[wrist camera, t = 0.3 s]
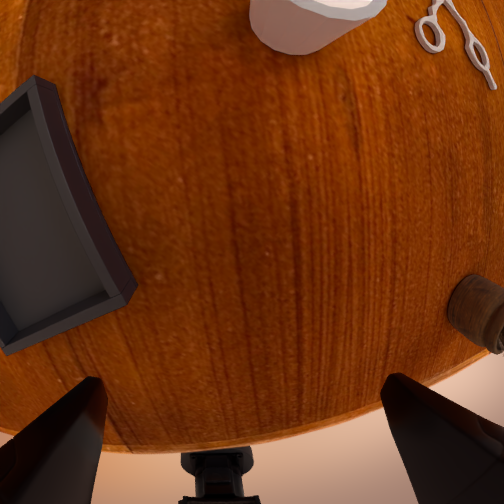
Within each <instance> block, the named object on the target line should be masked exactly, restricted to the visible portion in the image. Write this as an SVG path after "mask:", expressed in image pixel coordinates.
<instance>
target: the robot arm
mask: <svg viewBox="0 0 504 504" xmlns="http://www.w3.org/2000/svg"><path fill="white" fill-rule="evenodd" d="M380 397H381V400H382V404H383V407H384V410H385V414H386V417H387V420H388V424H389V427H390V430H391V433H392V436H393V438H394V441H395V443H396V446H397V448H398V451H399V453H400V456H401V458H402V460H403V463H404V466H405V468H406V470H407V474H408V476H409V479H410V481H411V484H412V487H413V490H414V492H415V495H416V497H417V501H418V503H419V504H504V427H502V426H500V425H498V424H495V423H493V422H491V421H489V420H487V419H485V418H483V417H481V416H479V415H477V414H475V413H473V412H472V411H470V410H468V409H466V408H464V407H462V406H460V405H458V404H457V403H454V402H453V401H451V400H449V399H447V398H445V397H444V396H442V395H440V394H438V393H436V392H435V391H433V390H431V389H429V388H427V387H425V386H424V385H422V384H420V383H418V382H416V381H415V380H413V379H411V378H409V377H408V376H406V375H404V374H402V373H399V372H398V373H393V374H390V375H389V376H388V377H387V379H386V381H385V383H384V385H383V387H382V389H381V392H380ZM107 405H108V397H107V394H106V390H105V387H104V384H103V381H102V379H101V378H98V377H92V376H88V377H86V378H85V379H84V380H83V381H81V382H80V383H79V384H78V385H77V386H75V387H74V388H73V389H72V390H70V391H69V392H68V393H67V394H65V395H64V396H63V397H62V398H61V399H59V400H58V401H57V402H56V403H54V404H53V405H52V406H51V407H50V408H48V409H47V410H46V411H45V412H43V413H42V414H41V415H40V416H39V417H37V418H36V419H35V420H34V421H32V422H31V423H30V424H29V425H28V426H26V427H25V428H24V429H23V430H22V431H20V432H19V433H18V434H17V435H15V436H14V437H13V439H11V440H9V441H8V442H7V443H6V444H4V445H3V446H2V447H1V448H0V504H91V498H92V492H93V487H94V482H95V476H96V472H97V467H98V463H99V458H100V454H101V449H102V444H103V436H104V427H105V419H106V412H107ZM243 459H244V456H243V453H241V452H237V453H191V454H190V462H191V466H192V470H193V474H194V477H195V488H196V490H195V491H196V497H188V496H183V500H180V501H178V504H261V503H260V499H259V496H258V495H256V496H250V497H244V491H243V484H242V476H243Z"/></svg>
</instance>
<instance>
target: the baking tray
mask: <svg viewBox="0 0 504 504" xmlns="http://www.w3.org/2000/svg"><path fill="white" fill-rule="evenodd" d="M137 286H138V284H137V282H136V280H135V279H134V277H133V275H132V273H131V271H130V269H129V267H128V266H127V264H126V262H125V260H124V258H123V256H122V254H121V252H120V250H119V248H118V246H117V244H116V242H115V240H114V238H113V236H112V234H111V232H110V230H109V228H108V226H107V223H106V221H105V219H104V217H103V215H102V213H101V210H100V208H99V206H98V204H97V201H96V199H95V197H94V194H93V192H92V190H91V187H90V185H89V182H88V180H87V178H86V175H85V173H84V170H83V167H82V165H81V162H80V160H79V157H78V154H77V152H76V149H75V146H74V143H73V140H72V138H71V135H70V132H69V129H68V126H67V123H66V120H65V116H64V113H63V110H62V107H61V103H60V100H59V96H58V93H57V89H56V85H55V84H53V83H51V82H49V81H47V80H45V79H42V78H40V77H38V76H35V75H33V76H32V77H30V78H29V79H28V80H27V81H26V82H24V83H23V84H22V85H21V86H20V87H18V88H17V89H16V90H15V91H14V92H13V93H11V94H10V95H9V96H8V97H7V98H6V99H5V100H4V101H3V102H2V103H1V104H0V347H1V348H2V350H3V352H4V353H5V354H6V356H8V355H10V354H13V353H15V352H17V351H20V350H22V349H24V348H27V347H29V346H31V345H34V344H36V343H39V342H41V341H43V340H46V339H48V338H50V337H53V336H55V335H57V334H60V333H62V332H64V331H67V330H69V329H71V328H74V327H76V326H79V325H81V324H83V323H86V322H88V321H90V320H93V319H95V318H97V317H100V316H102V315H104V314H107V313H109V312H112V311H114V310H116V309H119V308H121V307H123V306H126V305H127V304H128V302H129V300H130V299H131V297H132V295H133V293H134V291H135V290H136V288H137Z"/></svg>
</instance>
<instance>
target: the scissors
mask: <svg viewBox="0 0 504 504" xmlns="http://www.w3.org/2000/svg"><path fill="white" fill-rule="evenodd" d="M432 3H433V5H432V6H430V7H428V12H429V16H426V17H423V18H421V19H419V20H418V21H417V22H416V23H415V33H416V36H417V39H418V41H419V42H420V44H421V45H422V46H423V47H424V49H425V50H427V51H428V52H431V53H437V52H439V51H441V50H443V49H444V46H445V35H444V33H443V31H442V30H441V28H440V27H439V25H438V23H437V16H436V12H437V9H438V7H439V6H440V5H441V4H442V3H443V4H444V5H445V6H446V7H447V9H448V10H449V11H450V13H451V14H452V15H453V16H454V18H455V19H456V20H457V22H458V23H459V25H460V26H461V28H462V30H463V32H464V35H465V39H466V44H465V49H466V52H467V54H468V56H469V58H470V59H471V61H472V63H473V64H474V65H475V67H476V68H477V69H478V70H480V71H482V72H483V73H484V75H485V77H486V79H487V81H488V84H489V87H490V89H491V90H496V89H497V86H496V84H495V82H494V80H493V78H492V75H491V73H490V71H489V68H490V66H489V59H488V56H487V53H486V51H485V49H484V48H483V46H482V44H481V43H480V42H479V41H478V40H477V39H476V38H475V37H474V36H473V34H472V33H471V32H470V30H469V29H468V26H467V24H466V21H465V20H464V19H463V18H462V17H461V16H460V15H459V14H458V12H457V11H456V9H455V7H454V5H453V3H452V1H451V0H432ZM424 23H425V24H428V25H429V26H430V27H431V28H432V30H433V31H434V33H435V37H436V45H435V46H433V45H432V44H430V43H429V42H428V41H427V40H426V38H425V36H424V34H423V29H422V25H423V24H424ZM473 45H475V46H476V48H477V49H478V51H479V52H480V55H481V58H482V63H483V64H481V63H480V62H479V61H478V59H477V57H476V55H475V52H474V48H473Z"/></svg>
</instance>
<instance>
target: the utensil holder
mask: <svg viewBox="0 0 504 504" xmlns="http://www.w3.org/2000/svg"><path fill="white" fill-rule="evenodd" d="M448 319H449V321H450V323H451V324H452V326H453V327H454V328H456V329H457V330H458V331H459V332H460V333H462V334H463V335H464V336H465V337H467V338H468V339H469V340H470V341H472V342H473V343H475V344H476V345H478V346H481V347H486V348H487V349H488V351H490V352H492V353H494V354H500V353H502V352H503V351H504V288H502V287H500V286H499V285H497V284H495V283H493V282H492V281H490V280H488V279H486V278H484V277H482V276H479V275H470V276H468V277H466V278H465V279H464V280H462V281H461V283H460V284H459V285H458V286H457V288H456V289H455V291H454V293H453V295H452V297H451V300H450V303H449V307H448Z"/></svg>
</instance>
